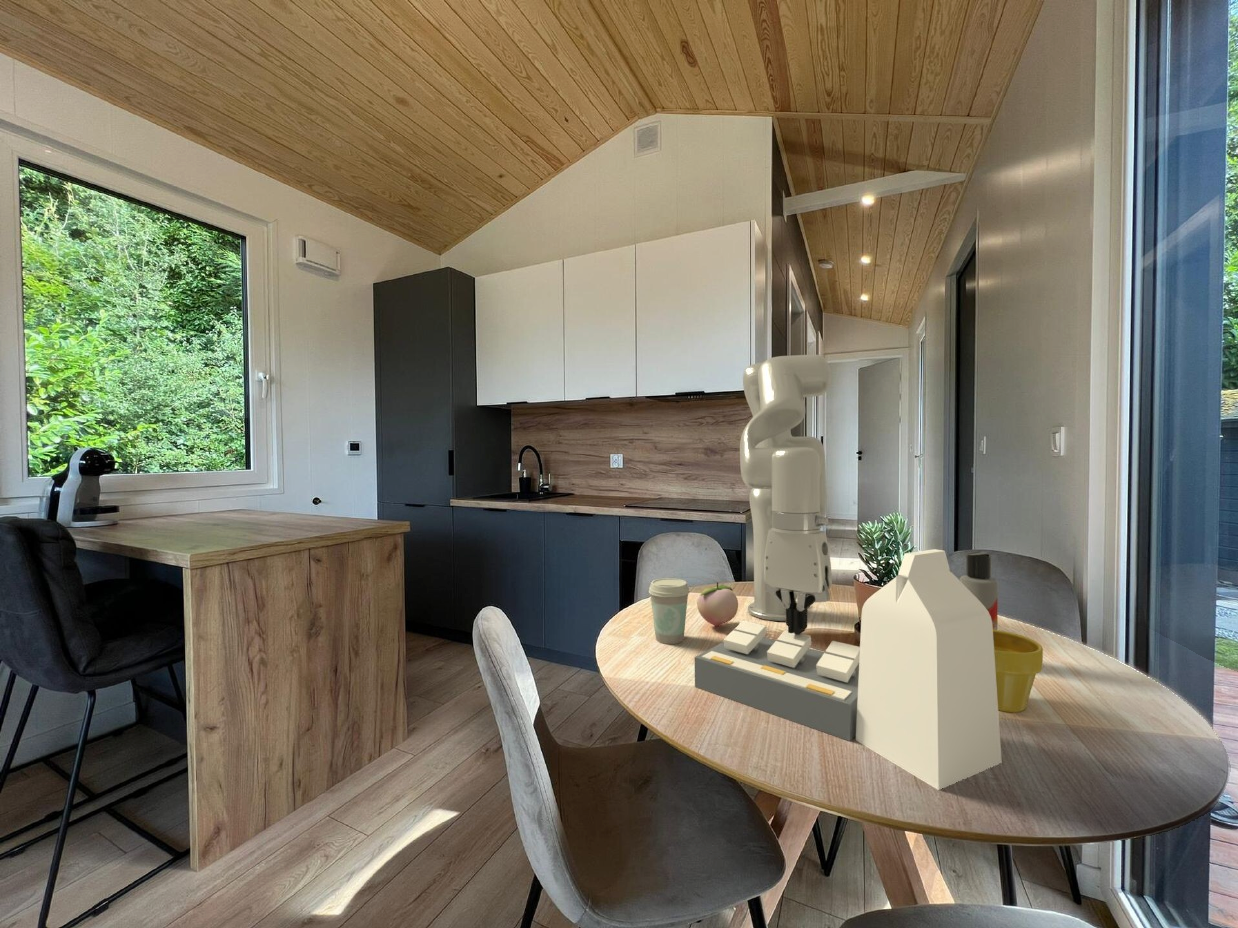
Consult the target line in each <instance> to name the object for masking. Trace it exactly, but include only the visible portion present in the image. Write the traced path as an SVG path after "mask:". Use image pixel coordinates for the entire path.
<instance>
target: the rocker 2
mask: <svg viewBox="0 0 1238 928" xmlns="http://www.w3.org/2000/svg"><path fill="white" fill-rule="evenodd" d="M775 640H776V641H775V643H774V644H773V645H772V646H771V647H770V649H769V650H768V651H767V657H768V661H771V662H775V663H779V664H782V665H786V666H789V667H793V668H795V666H796V665H797V663H798V662H799V661H800V659H801V658H802V657H803V655H804V654H805V652H806V651H807V650H808V648H810V647H811V645H812V637H811V635H809V634H806V633H803V632H802V633H800V634H799V635H796V634H795V633H788V629H785V630H783V631H782V633H781V634H780V635H779V636H778V637H777V639H775Z"/></svg>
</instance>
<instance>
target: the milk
mask: <svg viewBox="0 0 1238 928" xmlns="http://www.w3.org/2000/svg"><path fill="white" fill-rule="evenodd" d="M950 570H951V569H950V566H949V562H948V558H947V554H946V551H945V550H941V549H938V548H937V549H936V548H934V549H926V550H920V551H913V552H912V551H911V552H906V553H904V555H903V559H902V562H901V564H900V567H899V571H898V574H897V576H894V578H893V579H891V580H890V581H889V582H887V583H886V584H885V585H884V586H882V587H881V588H880V589H879V590H877V591H876V592H875V593H873V594H871V596H869V598H867V600H865V602H864V603H863V605H862V608H861V616H860V617H861V618H860V621H861V622H860V640H859V641H860V643H859V647H860V659H859V680H858V702H857V723H856V735H855V741H856V742H857V743H859V744H861V745H863V746H864V747H866V748H867V749H870V750H872V752H874V753H876V754H878V755H880V756H881V757H882V758H884V759H886V760H888V761H890V762H891V763H893V764H895V765H896V766H898V767H899V768H901V769H903V770H904V771H906V772H908V773H909V774H911V775H913V776H914V777H916V778H917V779H919V780H921V781H923V782H924V783H926V784H928V786H930V787H933V788H934V789H935V790H937V791H940V790H942V788H943V789H945V788H947V787H949V785H950V786H952V785H954V784H956V782H957V783H959V782H961V781H963V780H962V779H964V780H965V779H968V778H970V777H972V776H973V777H974V775H977V774H980V773H982V772H984V771H987V770H989V769H991V768H993V766H994V767H996V766H998V765H1000V764H999V763H1001V764H1002V763H1003V762H1002V761H1003V760H1002V746H1001V745H1002V744H1001V732H1000V731H1001V730H1000V718H999V710H998V700H997V685H996V671H995V656H994V641H993V626H992V620H991V616H990V614H989V612H988V611H987V609H986V608H985V606H984V605H983V604H982V603H981V602H980V601H979V600H978V599H977V598H976V597H975V596H974V595H973V594H972V593H971V592H970V591H969V590H968V589H967V588H966V587H965V586H964V585H963V583H962V582H961V581H960V578H958V577H957V576H956V575H955V574H954V573H953V572H952V571H950ZM995 765H996V766H995ZM990 767H991V768H990ZM988 768H989V769H988ZM986 769H987V770H986ZM979 772H980V773H979ZM967 777H968V778H967ZM958 781H959V782H958Z"/></svg>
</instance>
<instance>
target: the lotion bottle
mask: <svg viewBox="0 0 1238 928" xmlns="http://www.w3.org/2000/svg"><path fill="white" fill-rule="evenodd" d="M965 571H966V573H965V575H961V576H960V578H959V580H960V581H961V582H962V583H963V585H964V586H965V587H966V588H967V589H968V590H969V591H970V592H971V593H972V594H973V595H974V596H975V597H976V598H977V599H978V600H979V601H980V602H981V603H982V604H983V605H984V606H985V608H986V609H987V611H988V612H989V614H990V616H991V620H992V626H993V630H999V628H998V617H999V616H998V612H999V610H998V606H999V605H998V600H999V599H998V593H999V591H998V590H999V589H998V580H997V579H995V578H993V577H992V556H991V555H990V554H989V552H980V551H979V552H977V551H975V552H974V551H973V552H969V553H967V554H965Z"/></svg>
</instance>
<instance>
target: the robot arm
mask: <svg viewBox="0 0 1238 928" xmlns="http://www.w3.org/2000/svg"><path fill="white" fill-rule="evenodd" d="M831 374H832V373H831V367H830V365H829V362H828V361H827V359H826V358H825V357H824V356H822V355H820V354H796V355H780V356H773V357H771V358H768V359H766V360H764V362H757V363H754V364H751V365H748V366H747V367H746V368H745V369H744V371H743V375H742V386H743V391H744V396H745V398H746V402H747V404H748V407H749V409H750V412H751V414H752V415H751V416H752V417H751V419H750V420H749V421H748V422H747V424H746V426H745V427H744V429H743V431H742V433H741V437H740V441H739V461H740V462H739V463H740V464H739V466H740V476H741V479H742V482H743V483H744V484H745V486H746V487H748V488H750V489H751V490H750V491H749V495H748V496H749V497H748V498H749V507H750V508H749V509H750V514H751V521H752V522H751V523H752V531H753V534H752V535H753V536H752V537H753V589H754V590H753V591H754V592H753V594H754V595H753V598H754V599H753V601H754V602H752V603H750V604H748V606H747V612H748V613H749V614H750V615H751V616H752V617H755V618H759V619H762V620H767V621H774V622H775V621H777V622H783V621H784V622H785V625H786V626H787V630H788V633H795V634H796V635H799V634H800V633H802V634H803V632H805V631H806V629H807V628H808V608H810V607H811V606H812V605H813V604H815V603H826V602H828V601H830V600H831V594H830V592H829V590H830V589H831V587H832V582H833V581H832V580H833V576H832V573H833V572H832V562H831V554H830V546H829V542H828V537H827V533H826V531H825V530H821V528H822V527H823V526H828V525H829V518H828V517H827V516H826V514H827V510H828V509H827V508H828V500H827V499H828V498H827V497H828V494H827V473H826V472H827V469H826V454H825V448H824V445H823V443H822V441H821V440H820V439H818V438H817V437H814V436H805V435H804V436H793V435H792V433H791V431H792V429H794V428H795V427H797V426H798V425H799V424H801V423H802V421H803V420H804V418H805V415H806V405H805V399H804V398H813V397H820V396H823V395H825V394H826V393H827V392H828V391H829V388H830V385H831V381H832V375H831Z"/></svg>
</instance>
